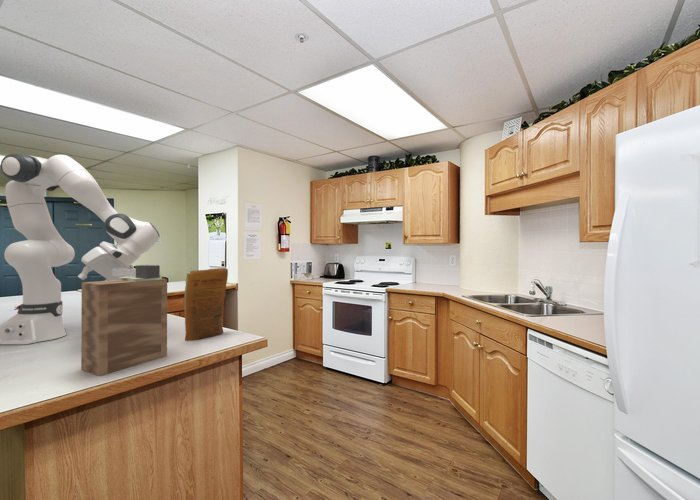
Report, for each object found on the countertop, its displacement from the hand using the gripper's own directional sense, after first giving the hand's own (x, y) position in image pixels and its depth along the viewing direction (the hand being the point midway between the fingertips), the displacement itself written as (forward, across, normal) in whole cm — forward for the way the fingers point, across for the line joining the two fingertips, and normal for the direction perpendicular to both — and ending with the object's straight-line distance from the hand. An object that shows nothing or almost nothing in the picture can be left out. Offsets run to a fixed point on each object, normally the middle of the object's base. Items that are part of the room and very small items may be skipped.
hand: (89, 283), depth 118 cm
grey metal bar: (-11, +12, +20) cm, 26 cm away
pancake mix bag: (-10, -22, +39) cm, 46 cm away
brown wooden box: (+9, +3, +36) cm, 38 cm away
